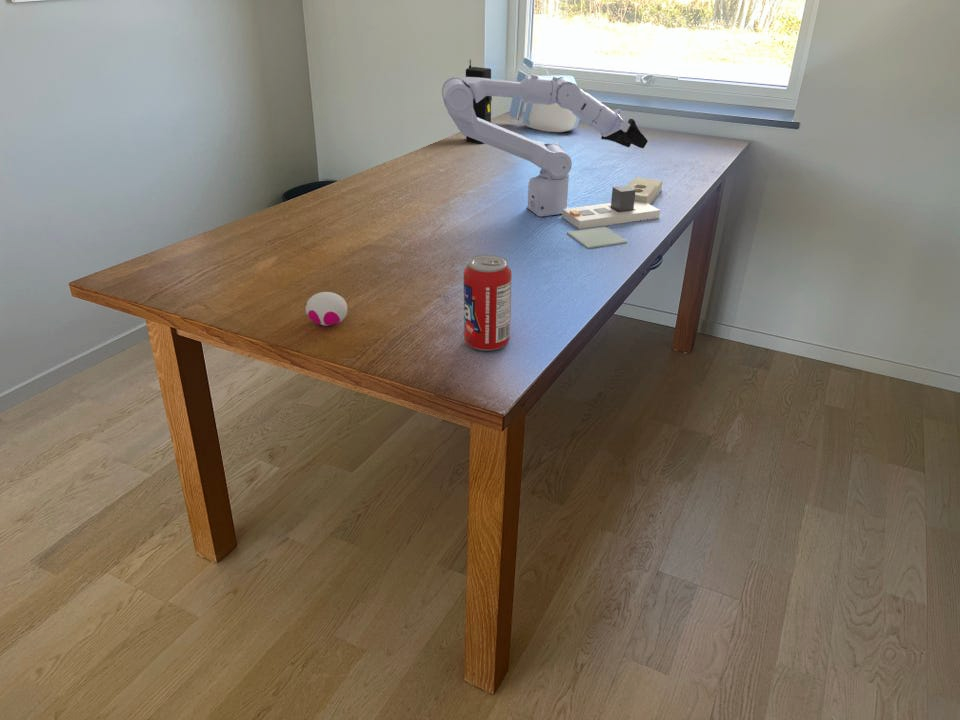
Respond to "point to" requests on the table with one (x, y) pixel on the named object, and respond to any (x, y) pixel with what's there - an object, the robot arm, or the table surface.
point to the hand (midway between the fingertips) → (637, 144)
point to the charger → (623, 198)
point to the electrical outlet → (646, 189)
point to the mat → (596, 237)
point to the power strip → (608, 215)
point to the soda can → (487, 302)
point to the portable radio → (483, 105)
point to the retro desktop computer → (543, 109)
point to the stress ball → (326, 308)
